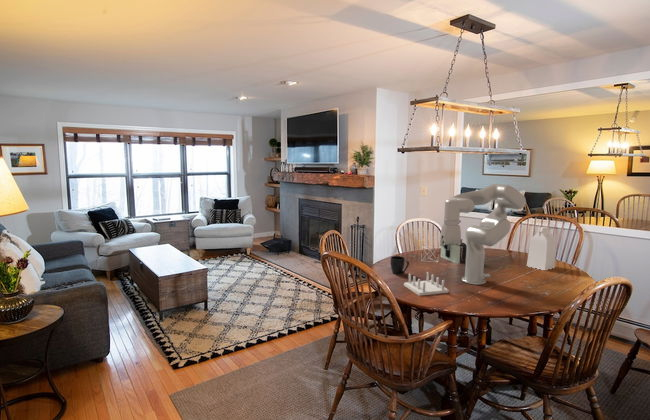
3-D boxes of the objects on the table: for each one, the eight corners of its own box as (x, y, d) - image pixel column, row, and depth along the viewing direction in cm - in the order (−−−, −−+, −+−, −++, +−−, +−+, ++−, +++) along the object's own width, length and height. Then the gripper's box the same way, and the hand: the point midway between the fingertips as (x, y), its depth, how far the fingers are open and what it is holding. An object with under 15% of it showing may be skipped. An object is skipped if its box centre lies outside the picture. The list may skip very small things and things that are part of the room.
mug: (403, 277, 218) (403, 261, 217) (387, 272, 227) (387, 257, 226) (412, 275, 223) (412, 259, 222) (396, 270, 233) (396, 255, 231)
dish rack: (431, 282, 210) (431, 271, 209) (448, 292, 195) (449, 280, 194) (403, 285, 205) (404, 273, 204) (419, 295, 190) (419, 283, 189)
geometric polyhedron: (421, 257, 263) (421, 244, 262) (437, 258, 261) (438, 245, 259) (421, 262, 251) (421, 249, 250) (438, 263, 249) (439, 250, 247)
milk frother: (444, 260, 256) (445, 239, 254) (454, 256, 268) (455, 235, 266) (465, 264, 247) (466, 242, 245) (474, 260, 258) (476, 238, 256)
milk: (536, 263, 251) (540, 224, 248) (554, 267, 242) (558, 227, 238) (526, 266, 245) (529, 226, 241) (544, 270, 235) (548, 229, 232)
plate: (440, 256, 208) (441, 240, 207) (443, 256, 209) (444, 240, 208) (456, 263, 195) (457, 246, 194) (459, 263, 196) (460, 246, 194)
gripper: (460, 220, 205) (458, 254, 208) (434, 222, 200) (432, 256, 203) (469, 223, 198) (467, 257, 200) (442, 224, 193) (440, 259, 196)
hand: (449, 256), depth 202 cm, fingers closed on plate, 2 cm apart
